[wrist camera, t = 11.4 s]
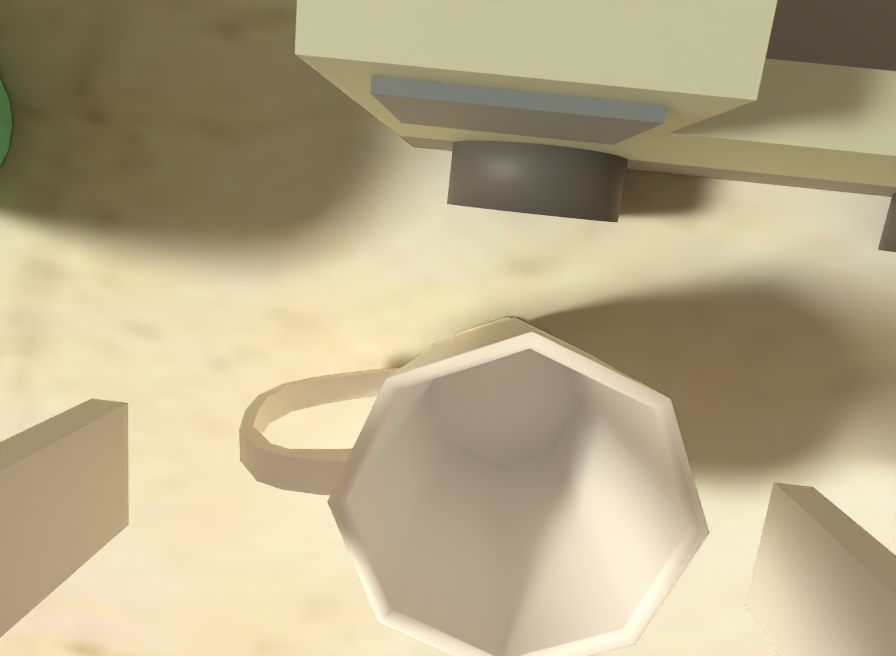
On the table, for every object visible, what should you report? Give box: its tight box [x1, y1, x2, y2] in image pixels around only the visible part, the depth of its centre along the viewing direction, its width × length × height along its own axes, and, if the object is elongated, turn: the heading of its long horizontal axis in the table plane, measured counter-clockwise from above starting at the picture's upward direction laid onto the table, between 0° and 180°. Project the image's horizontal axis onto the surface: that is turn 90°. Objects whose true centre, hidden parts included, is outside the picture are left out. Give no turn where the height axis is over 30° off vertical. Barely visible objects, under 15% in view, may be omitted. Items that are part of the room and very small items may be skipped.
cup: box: [239, 317, 709, 656], centre depth 15 cm, size 7×10×8 cm
